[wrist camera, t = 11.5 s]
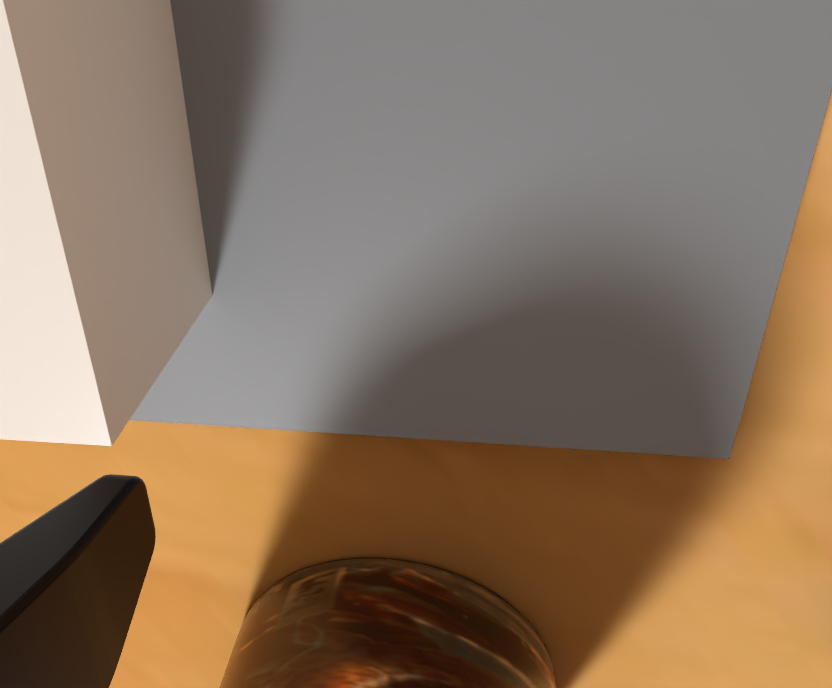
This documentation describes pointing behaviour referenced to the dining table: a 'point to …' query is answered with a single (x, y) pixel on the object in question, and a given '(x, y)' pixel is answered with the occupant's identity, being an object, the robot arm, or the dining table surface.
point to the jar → (385, 632)
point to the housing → (92, 215)
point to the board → (492, 214)
